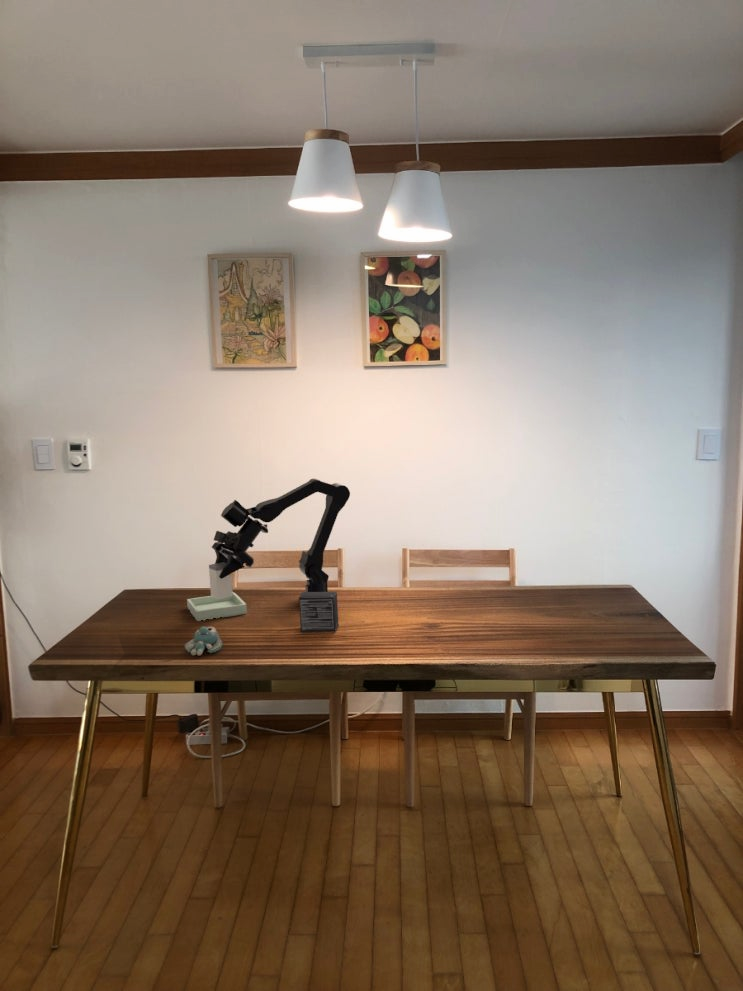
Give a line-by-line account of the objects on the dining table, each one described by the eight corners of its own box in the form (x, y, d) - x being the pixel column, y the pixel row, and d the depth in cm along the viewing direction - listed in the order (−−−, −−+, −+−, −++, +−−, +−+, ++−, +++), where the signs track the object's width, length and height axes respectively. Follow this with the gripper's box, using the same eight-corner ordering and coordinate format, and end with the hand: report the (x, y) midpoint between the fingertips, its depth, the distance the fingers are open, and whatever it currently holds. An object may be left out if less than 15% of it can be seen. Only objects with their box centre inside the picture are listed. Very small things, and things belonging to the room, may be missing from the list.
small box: (339, 625, 237) (337, 590, 235) (336, 632, 230) (334, 597, 229) (304, 625, 238) (302, 591, 236) (300, 632, 231) (298, 597, 230)
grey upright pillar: (225, 592, 254) (223, 562, 252) (232, 596, 250) (230, 564, 248) (211, 596, 251) (208, 564, 249) (218, 599, 247) (215, 567, 245)
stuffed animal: (174, 639, 213) (190, 617, 224) (178, 663, 215) (193, 640, 226) (213, 640, 211) (227, 618, 222) (216, 664, 213) (230, 640, 225)
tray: (235, 601, 265) (234, 592, 265) (247, 613, 251) (246, 604, 251) (187, 608, 259) (187, 599, 259) (197, 621, 245) (196, 611, 245)
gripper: (215, 517, 256) (185, 556, 252) (242, 524, 241) (211, 566, 237) (239, 537, 262) (210, 576, 257) (267, 546, 247) (237, 587, 243)
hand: (216, 576), depth 248 cm, fingers closed on grey upright pillar, 5 cm apart
